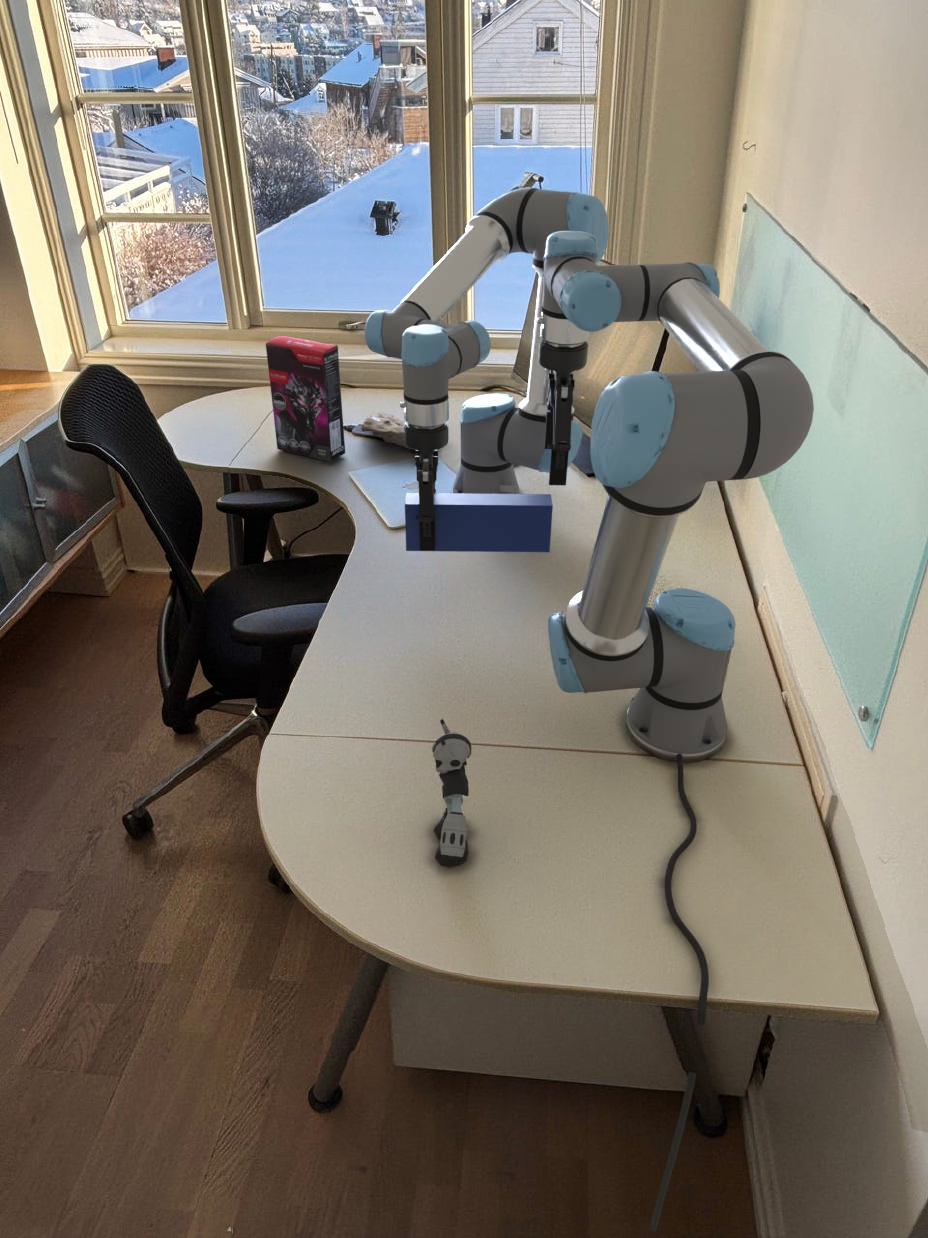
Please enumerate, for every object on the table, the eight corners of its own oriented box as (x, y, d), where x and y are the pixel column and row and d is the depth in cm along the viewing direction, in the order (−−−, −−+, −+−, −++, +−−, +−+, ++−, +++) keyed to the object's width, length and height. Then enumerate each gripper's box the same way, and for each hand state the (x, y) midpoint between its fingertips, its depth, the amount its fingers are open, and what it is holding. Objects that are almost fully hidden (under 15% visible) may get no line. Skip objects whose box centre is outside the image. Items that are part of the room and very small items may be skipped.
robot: (474, 902, 115) (476, 785, 104) (435, 903, 115) (433, 787, 104) (466, 791, 132) (467, 679, 120) (432, 792, 131) (430, 680, 120)
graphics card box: (274, 450, 230) (262, 341, 215) (291, 440, 235) (280, 333, 220) (331, 464, 224) (323, 352, 209) (347, 453, 229) (340, 344, 214)
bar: (547, 540, 171) (550, 494, 165) (549, 552, 167) (552, 505, 162) (407, 538, 171) (406, 492, 165) (406, 551, 167) (404, 504, 162)
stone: (345, 437, 230) (349, 413, 227) (367, 428, 243) (371, 405, 241) (423, 461, 226) (429, 437, 224) (441, 451, 239) (446, 428, 237)
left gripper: (406, 402, 163) (410, 519, 176) (400, 441, 148) (404, 566, 161) (449, 402, 163) (449, 520, 176) (447, 442, 148) (447, 567, 161)
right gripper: (535, 314, 152) (529, 434, 164) (544, 368, 132) (535, 500, 144) (581, 315, 152) (571, 434, 164) (596, 369, 132) (583, 501, 144)
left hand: (428, 542), depth 168 cm, fingers closed on bar, 4 cm apart
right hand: (554, 465), depth 154 cm, fingers open, 13 cm apart
